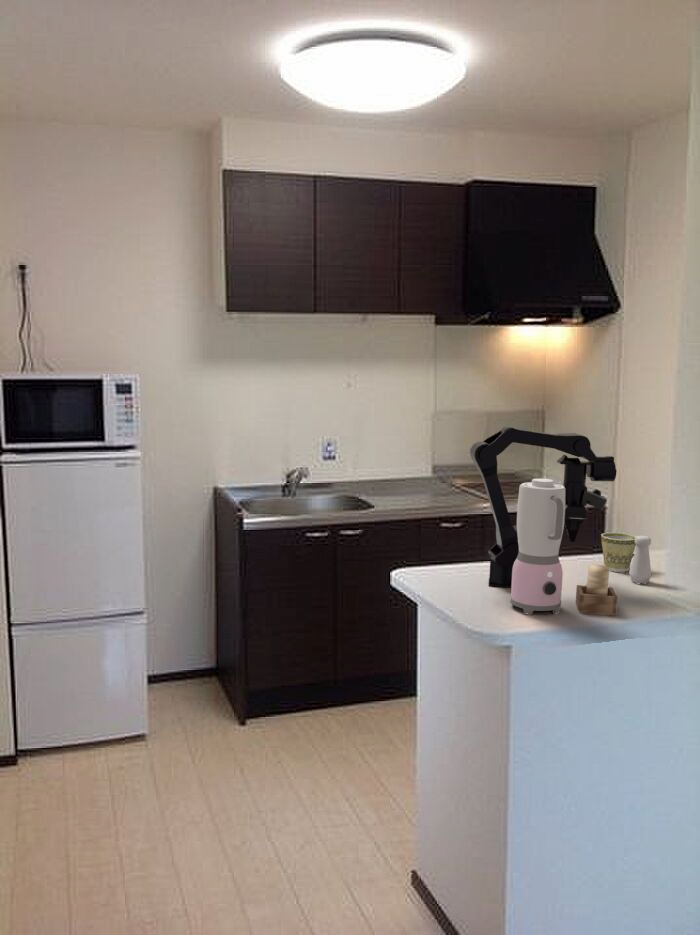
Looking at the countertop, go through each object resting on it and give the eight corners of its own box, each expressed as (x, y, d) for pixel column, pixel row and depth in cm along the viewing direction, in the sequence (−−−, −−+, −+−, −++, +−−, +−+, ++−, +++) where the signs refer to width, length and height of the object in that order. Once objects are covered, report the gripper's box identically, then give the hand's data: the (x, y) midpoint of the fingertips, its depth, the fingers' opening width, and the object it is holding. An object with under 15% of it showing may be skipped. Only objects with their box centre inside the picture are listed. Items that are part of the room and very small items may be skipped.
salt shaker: (651, 585, 241) (655, 539, 239) (629, 584, 242) (633, 537, 240) (649, 580, 247) (652, 534, 245) (627, 578, 248) (631, 533, 246)
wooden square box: (578, 613, 215) (579, 594, 214) (575, 602, 224) (576, 585, 223) (616, 615, 214) (617, 597, 213) (611, 605, 222) (612, 587, 222)
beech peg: (586, 608, 217) (589, 569, 215) (584, 602, 221) (587, 563, 220) (607, 610, 216) (610, 570, 214) (605, 604, 221) (608, 565, 219)
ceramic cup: (603, 573, 253) (605, 539, 252) (595, 564, 263) (597, 531, 262) (649, 575, 253) (652, 540, 251) (639, 566, 263) (641, 533, 261)
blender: (501, 602, 222) (508, 476, 218) (544, 599, 226) (552, 475, 221) (531, 621, 207) (539, 487, 203) (577, 618, 211) (586, 486, 206)
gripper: (610, 488, 225) (606, 547, 228) (601, 477, 244) (597, 532, 246) (565, 485, 227) (561, 545, 229) (560, 475, 245) (556, 530, 248)
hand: (571, 538), depth 238 cm, fingers open, 9 cm apart
